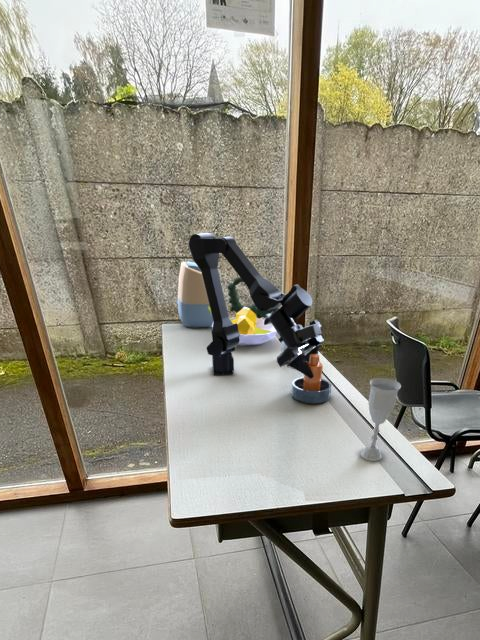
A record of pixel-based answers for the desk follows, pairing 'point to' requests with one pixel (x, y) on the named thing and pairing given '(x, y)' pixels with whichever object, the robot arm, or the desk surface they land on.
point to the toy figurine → (237, 305)
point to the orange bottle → (316, 369)
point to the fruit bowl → (251, 328)
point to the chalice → (380, 410)
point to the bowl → (311, 392)
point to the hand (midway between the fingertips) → (316, 375)
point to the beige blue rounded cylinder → (193, 297)
